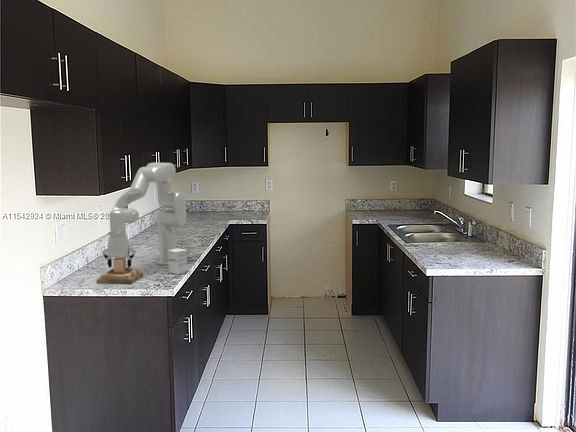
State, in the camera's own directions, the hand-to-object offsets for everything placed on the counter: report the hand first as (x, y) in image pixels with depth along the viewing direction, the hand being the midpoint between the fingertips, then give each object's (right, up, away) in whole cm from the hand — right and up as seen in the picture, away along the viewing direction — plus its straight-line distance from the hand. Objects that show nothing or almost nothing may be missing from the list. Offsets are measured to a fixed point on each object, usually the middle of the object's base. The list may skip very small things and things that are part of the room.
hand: (119, 267), depth 273 cm
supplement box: (+27, -5, +16) cm, 32 cm away
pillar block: (0, -3, 0) cm, 2 cm away
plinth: (0, -7, +1) cm, 7 cm away
